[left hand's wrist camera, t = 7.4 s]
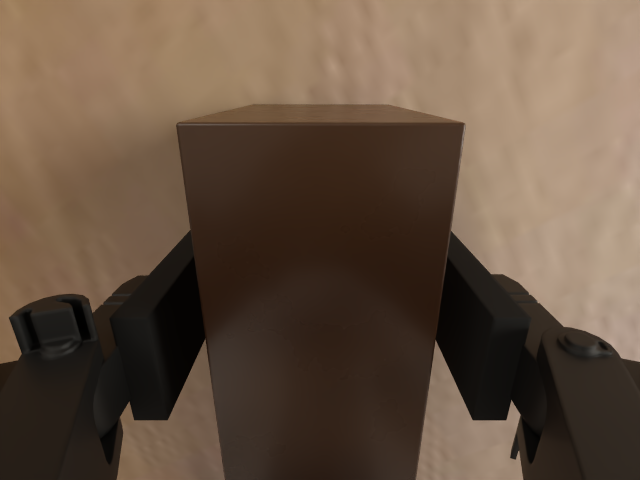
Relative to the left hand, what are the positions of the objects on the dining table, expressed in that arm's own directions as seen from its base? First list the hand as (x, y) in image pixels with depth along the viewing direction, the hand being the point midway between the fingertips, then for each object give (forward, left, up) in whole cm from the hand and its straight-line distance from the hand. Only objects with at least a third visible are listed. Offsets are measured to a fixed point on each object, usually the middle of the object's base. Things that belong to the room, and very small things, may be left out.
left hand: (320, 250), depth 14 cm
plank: (+10, 0, 0) cm, 10 cm away
